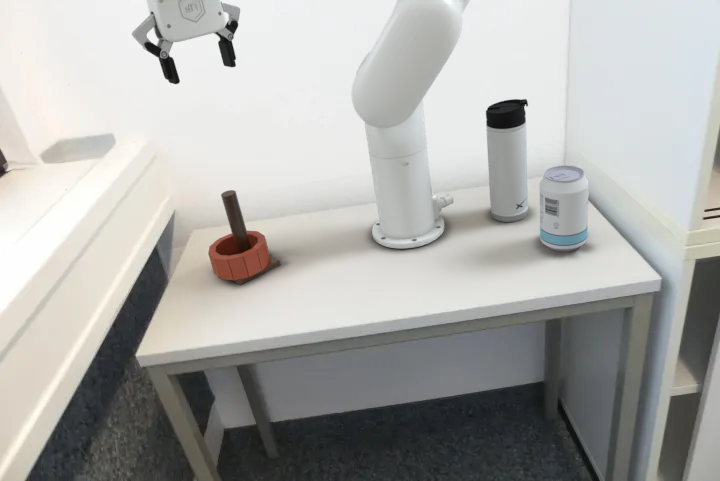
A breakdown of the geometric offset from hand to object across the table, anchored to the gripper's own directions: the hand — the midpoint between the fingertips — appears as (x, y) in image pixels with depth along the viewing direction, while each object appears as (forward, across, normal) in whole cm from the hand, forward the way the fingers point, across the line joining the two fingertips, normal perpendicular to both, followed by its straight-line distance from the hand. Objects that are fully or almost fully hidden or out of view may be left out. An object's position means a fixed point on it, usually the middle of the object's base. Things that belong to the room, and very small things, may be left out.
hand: (203, 74), depth 95 cm
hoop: (+30, -5, -7) cm, 31 cm away
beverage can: (+32, +33, -43) cm, 63 cm away
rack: (+31, -4, -7) cm, 32 cm away
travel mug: (+32, +36, -30) cm, 56 cm away
